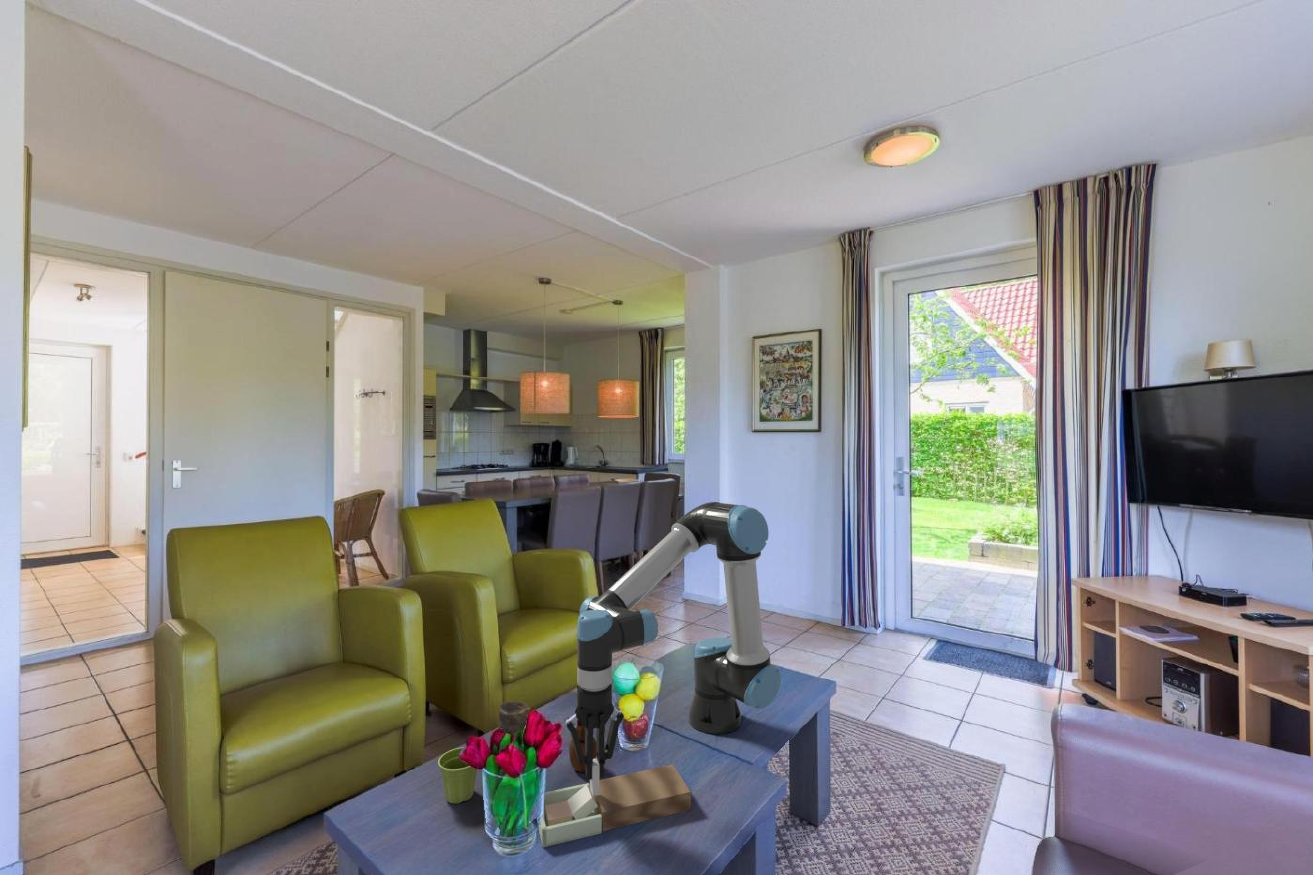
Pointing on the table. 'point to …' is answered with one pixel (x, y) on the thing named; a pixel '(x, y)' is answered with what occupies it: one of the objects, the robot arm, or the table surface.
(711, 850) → the table surface
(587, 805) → the tile
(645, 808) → the brown box sleeve
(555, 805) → the tile
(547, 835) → the tray
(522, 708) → the candle
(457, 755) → the plant pot
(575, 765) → the wooden figurine
